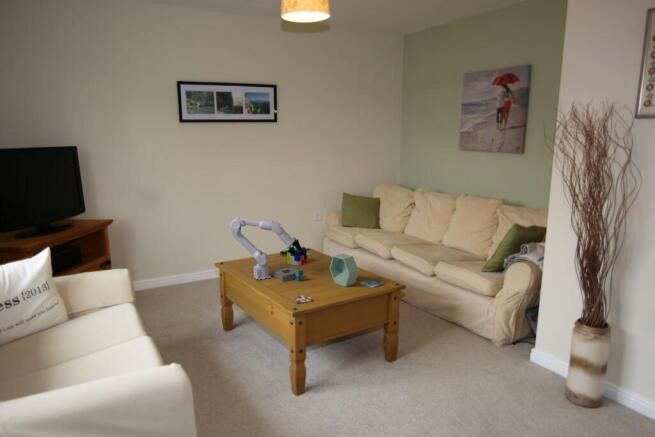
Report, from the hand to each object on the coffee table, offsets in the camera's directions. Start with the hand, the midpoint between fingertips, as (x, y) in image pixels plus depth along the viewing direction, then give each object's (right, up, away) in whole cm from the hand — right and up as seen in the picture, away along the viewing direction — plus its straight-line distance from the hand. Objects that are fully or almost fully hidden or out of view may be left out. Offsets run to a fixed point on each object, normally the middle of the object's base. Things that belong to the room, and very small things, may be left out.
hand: (299, 253), depth 305 cm
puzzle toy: (-3, -10, +33) cm, 35 cm away
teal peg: (+1, -17, -6) cm, 18 cm away
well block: (-8, -16, +1) cm, 18 cm away
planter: (+29, -18, -13) cm, 36 cm away
